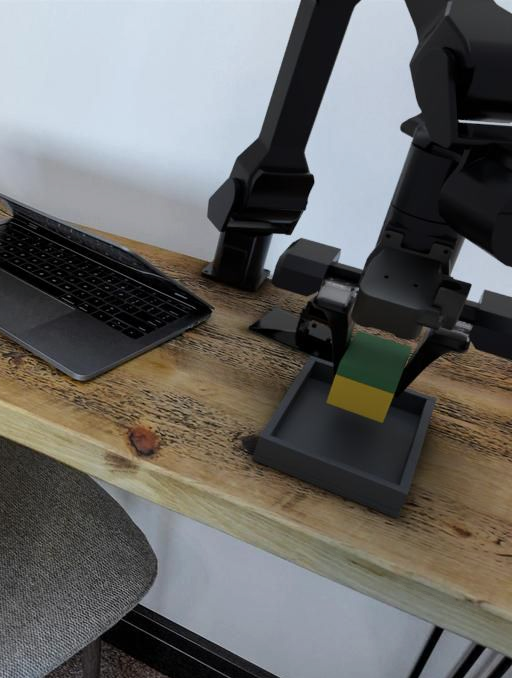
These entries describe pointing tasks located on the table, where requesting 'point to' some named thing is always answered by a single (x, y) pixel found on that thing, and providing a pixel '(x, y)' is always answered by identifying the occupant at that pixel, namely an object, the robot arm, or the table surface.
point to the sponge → (368, 376)
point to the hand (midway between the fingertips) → (365, 384)
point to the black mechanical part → (298, 331)
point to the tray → (346, 441)
